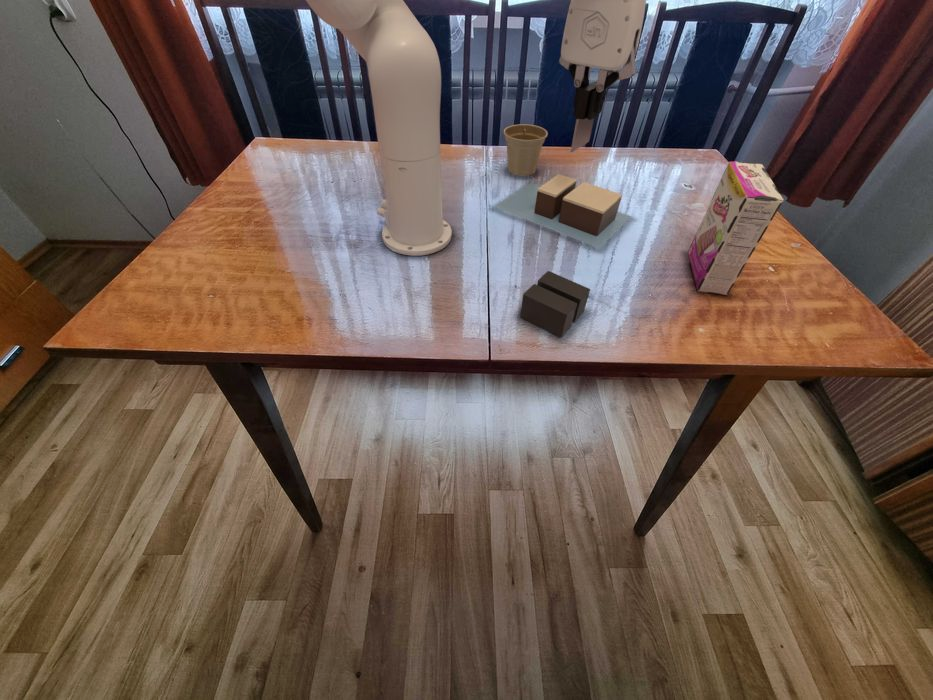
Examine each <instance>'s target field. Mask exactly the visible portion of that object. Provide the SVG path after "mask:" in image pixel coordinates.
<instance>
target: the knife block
mask: <svg viewBox="0 0 933 700" xmlns="http://www.w3.org/2000/svg"><path fill="white" fill-rule="evenodd" d="M590 292H591V288H589V287H587V286H585V285H582V284H580V283H578V282H575V281H573V280H571V279H568V278H566V277H564V276H561V275H559V274H557V273H555V272H552V271H550V270H547V271H546V272H545V273H544V274H542V276H540V278H539V279H537V283H533V284H532V285H531V286H530V287H529V288H528V289H527V290H526V291H525V292H524V293H523V294H522V301H521V307H520V313H519V318H521V319H523V320H525V321H526V322H529V323H531V324H533V325H534V326H537V327H538V328H541V329H542V330H544V331H546V332H548V333H551V334H552V335H554V336H556V337H558V338H560V339H562V338H563V336H564V335H565V334H567V332H568V331H569V330H570V328H572V326H573V325H572V324H573V323H574V324H575V323H576V322H577V321H578V320H579V319H580V317H581V316H582V315H583V314H584V312H585V310H586V306H587V302H588V299H589V295H590Z"/></svg>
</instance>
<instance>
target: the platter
mask: <svg viewBox="0 0 933 700" xmlns="http://www.w3.org/2000/svg"><path fill="white" fill-rule="evenodd" d="M541 186H542V185H541V184H538V183H536V182H532V181H531V182H529V183H527V184H526V185H524V186H523V187H521V188H520V189H518V190H517V191H515V192H514V193H512V194H511V195H509V196H508V197H506V198H505V199H504V200H502V201H500V202H499V203H497V204H496V205H494V206H493V207H494V208H495V209H498V210H501V211H502V212H505V213H508V214H510V215H513V216H515V217H518V218H520V219H523V220H525V221H529V222H531V223H534V224H536V225H539V226H541V227H545V228H547V229H549V230H552V231H553V232H556V233H560V234H562V235H564V236H566V237H567V236H568V237H570V238H571V239H575V240H578V241H580V242H582V243H585V244H587V245H591V246H593V247H596V248H598V249H600V248H602V246H603V245H604V244H605V243H606V242H607V241H608V240H610V238H611V237H612V236H613V235H614V234H615V233H616V232H617V231H618V230H620V229H621V227H623V225H624V224H625V223H626V222H627V221H628V220H630V218H632V216H631V215H628V214H626V213H622V212H619V211H617V214H616V218H615V220H614V221H613V222H611V223H610V224H609V225H608V226H607V227H606V228H605V229H604V230H603V231H602V232H601V233H600V234H599V235H598V236H594V235H591V234H589V233H586V232H583V231H581V230H578V229H575V228H573V227H570V226H567V225H565V224H562V223H559V217H560V214H558V215H557V216H556V217H555V218H553V219H552V220H551V219H549V218H546V217H543V216H541V215H538V214H535V213H534V211H535V204H536V197H537V190H538V188H539V187H541Z"/></svg>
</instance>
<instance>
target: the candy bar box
mask: <svg viewBox="0 0 933 700" xmlns="http://www.w3.org/2000/svg"><path fill="white" fill-rule="evenodd" d="M784 201H785V199H784V198H783V196H782V194H781V193H780V190H778V188H777V186H776V185H775V183H774V182H773V180H772V179H771V176H770V175H769V172H767V170H766V168H765V167H764V165H763V164H762V163H753V162H746V161H745V162H744V161H743V162H741V161H728V163H727V164H726V167H725V170H724V172H723V174H722V176H721V179H720V181H719V182H718V185H717V187H716V189H715V191H714V193H713V196H712V198H711V200H710V202H709V204H708V207H707V209H706V211H705V214H704V216H703V218H702V220H701V223H700V225H699V226H698V229H697V230H696V231H697V232H696V233H695V234H694V235H695V236H694V237H693V240H692V242H691V244H690V246H689V249H688V250H687V254H688V257H689V261H690V262H689V265H690V268H691V273H692V276H693V280H694V284H695V288H696V291H697V292H699V293H703V294H704V293H705V294H713V295H720V296H728V295H729V293H730V292H731V290H732V288H733V287H734V285H735V283H736V282H737V280H738V278H739V277H740V275H741V273H742V272H743V270H744V268H745V266H746V265H747V263H748V262H749V260H750V258H751V256H752V254H753V253H754V251H755V250H756V248H757V247H758V245H759V243H760V242H761V240H762V238H763V237H764V235H765V233H766V231H767V230H768V228H769V226H770V224H771V223H772V221H773V220H774V217H775V216H776V214H777V212H778V211H779V210H780V208H781V206H782V205H783V203H784Z"/></svg>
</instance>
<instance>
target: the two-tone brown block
mask: <svg viewBox="0 0 933 700" xmlns="http://www.w3.org/2000/svg"><path fill="white" fill-rule="evenodd" d="M577 181H578V179H576V178H572V177H570V176H566V175H563V174H561V173H557V174H556V175H555V176H554V177H552V178H550V179H549V180H548V181H546V182H545V183H544V184H542V185H541V187H539V188H538V190H537V197H536V204H535V211H534V213H535V214H538V215H541V216H543V217H546V218H549V219H551V220H552V219H553V218H555V217H556V216H557V215H558V214H560V212H561V207H562V202H563V197H565V196H566V195H567V194H568V193H570V192H571V191H572V190H574V189H575V188H576V187H577Z"/></svg>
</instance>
